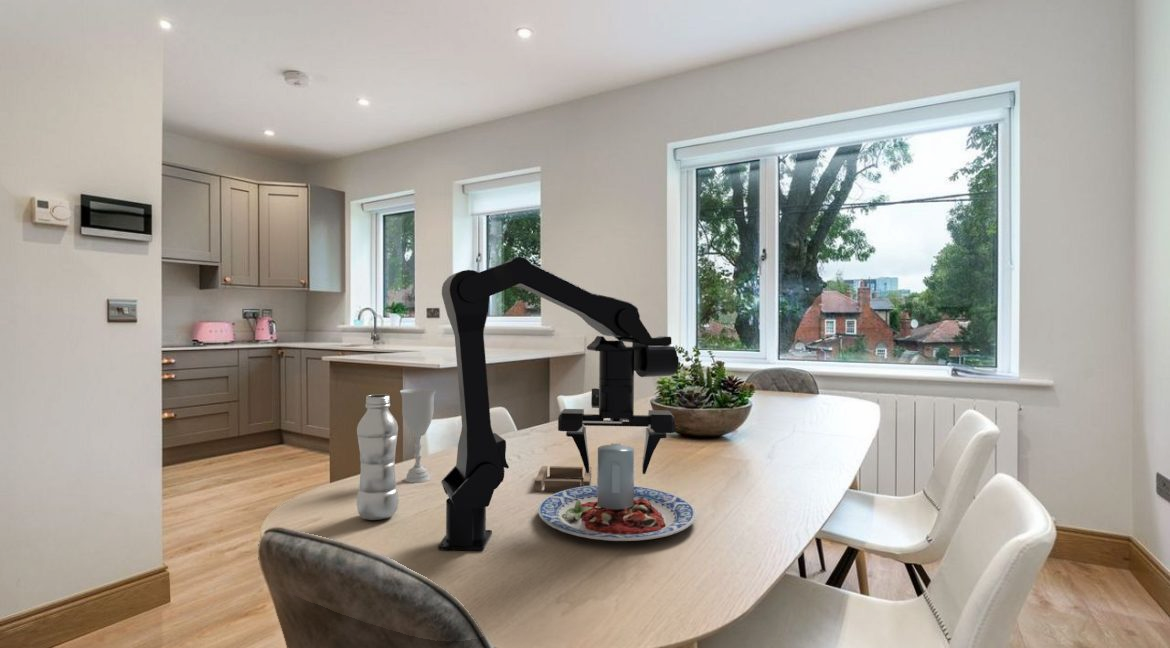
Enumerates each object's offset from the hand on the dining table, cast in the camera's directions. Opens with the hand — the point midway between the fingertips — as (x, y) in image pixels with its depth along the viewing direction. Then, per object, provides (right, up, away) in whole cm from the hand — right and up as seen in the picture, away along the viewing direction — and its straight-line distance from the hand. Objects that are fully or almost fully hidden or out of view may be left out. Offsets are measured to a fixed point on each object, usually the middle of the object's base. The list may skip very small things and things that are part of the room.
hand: (615, 472), depth 92 cm
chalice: (-39, -7, +22) cm, 45 cm away
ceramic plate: (0, -8, 0) cm, 8 cm away
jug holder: (-9, -7, +19) cm, 23 cm away
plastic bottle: (-39, -8, 0) cm, 40 cm away
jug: (0, -5, 0) cm, 5 cm away
